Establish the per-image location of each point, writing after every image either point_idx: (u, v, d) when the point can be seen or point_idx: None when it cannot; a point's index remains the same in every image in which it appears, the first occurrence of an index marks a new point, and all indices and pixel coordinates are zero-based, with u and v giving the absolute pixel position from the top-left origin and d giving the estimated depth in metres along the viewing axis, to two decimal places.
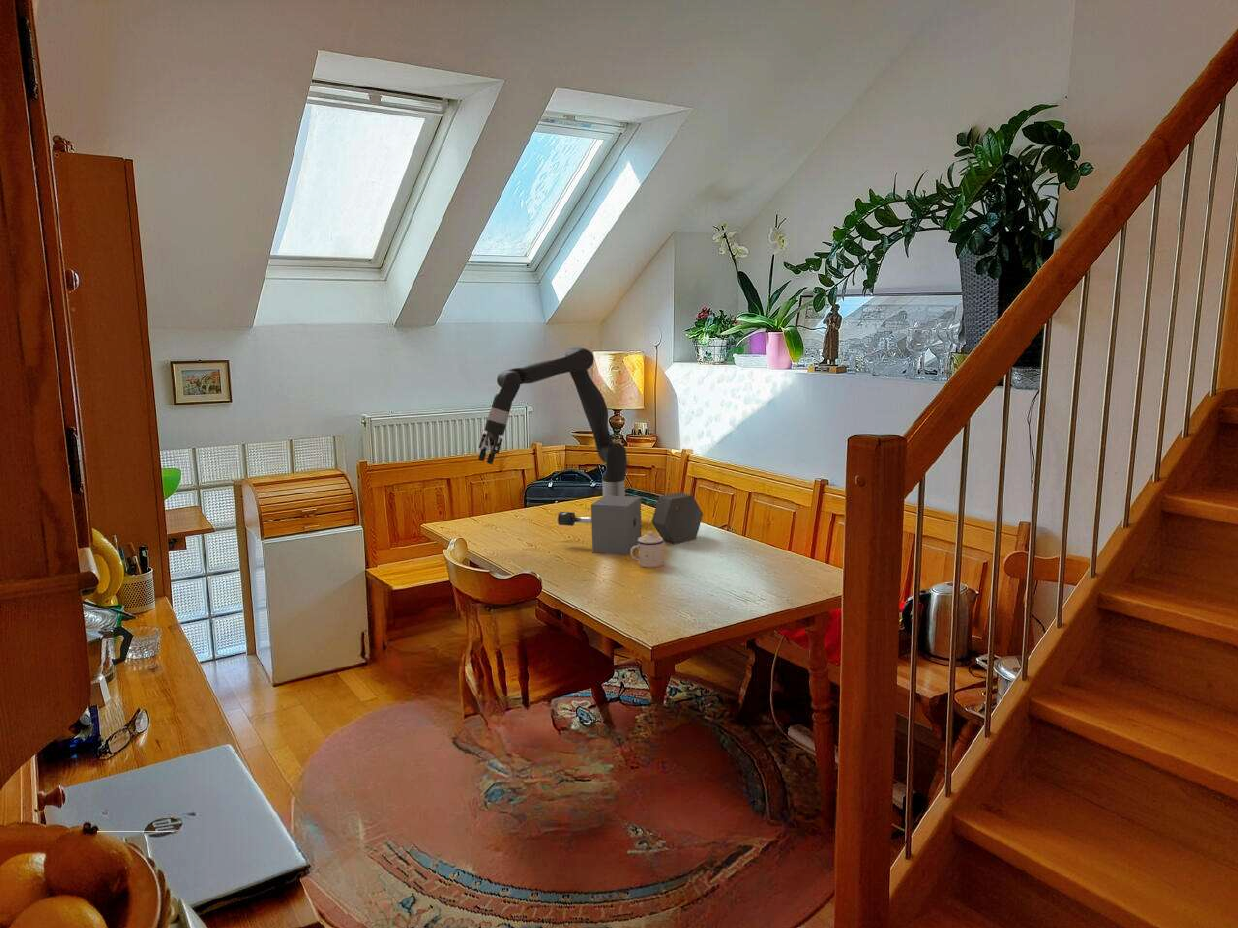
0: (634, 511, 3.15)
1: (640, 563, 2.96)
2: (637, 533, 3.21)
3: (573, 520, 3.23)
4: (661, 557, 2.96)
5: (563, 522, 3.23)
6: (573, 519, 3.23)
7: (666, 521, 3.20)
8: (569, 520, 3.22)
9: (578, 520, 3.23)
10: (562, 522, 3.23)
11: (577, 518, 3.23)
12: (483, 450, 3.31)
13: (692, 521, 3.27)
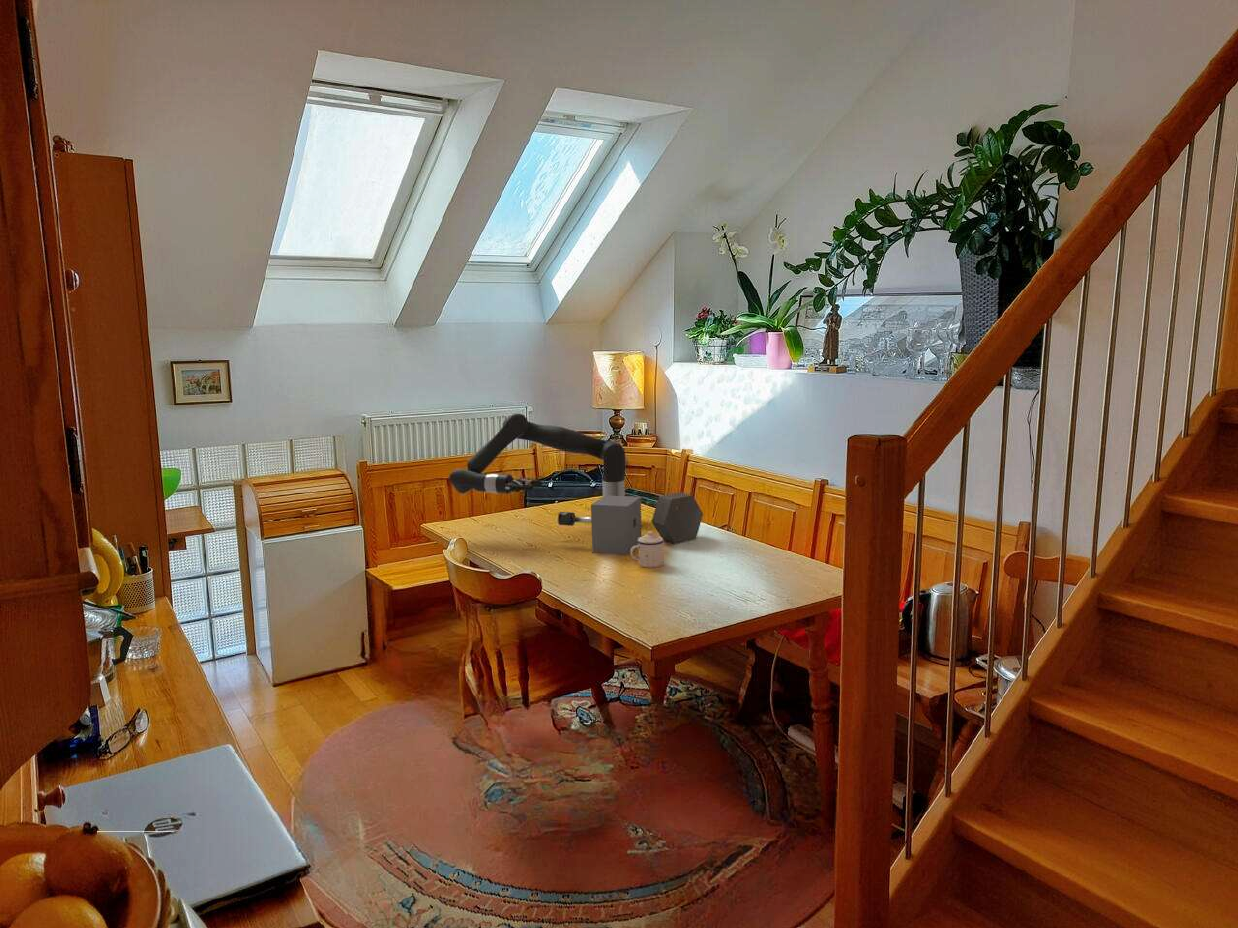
0: (634, 511, 3.15)
1: (640, 563, 2.96)
2: (637, 533, 3.21)
3: (573, 520, 3.23)
4: (661, 557, 2.96)
5: (563, 522, 3.23)
6: (573, 519, 3.23)
7: (666, 521, 3.20)
8: (569, 520, 3.22)
9: (578, 520, 3.23)
10: (562, 522, 3.23)
11: (577, 518, 3.23)
12: (532, 483, 3.32)
13: (692, 521, 3.27)
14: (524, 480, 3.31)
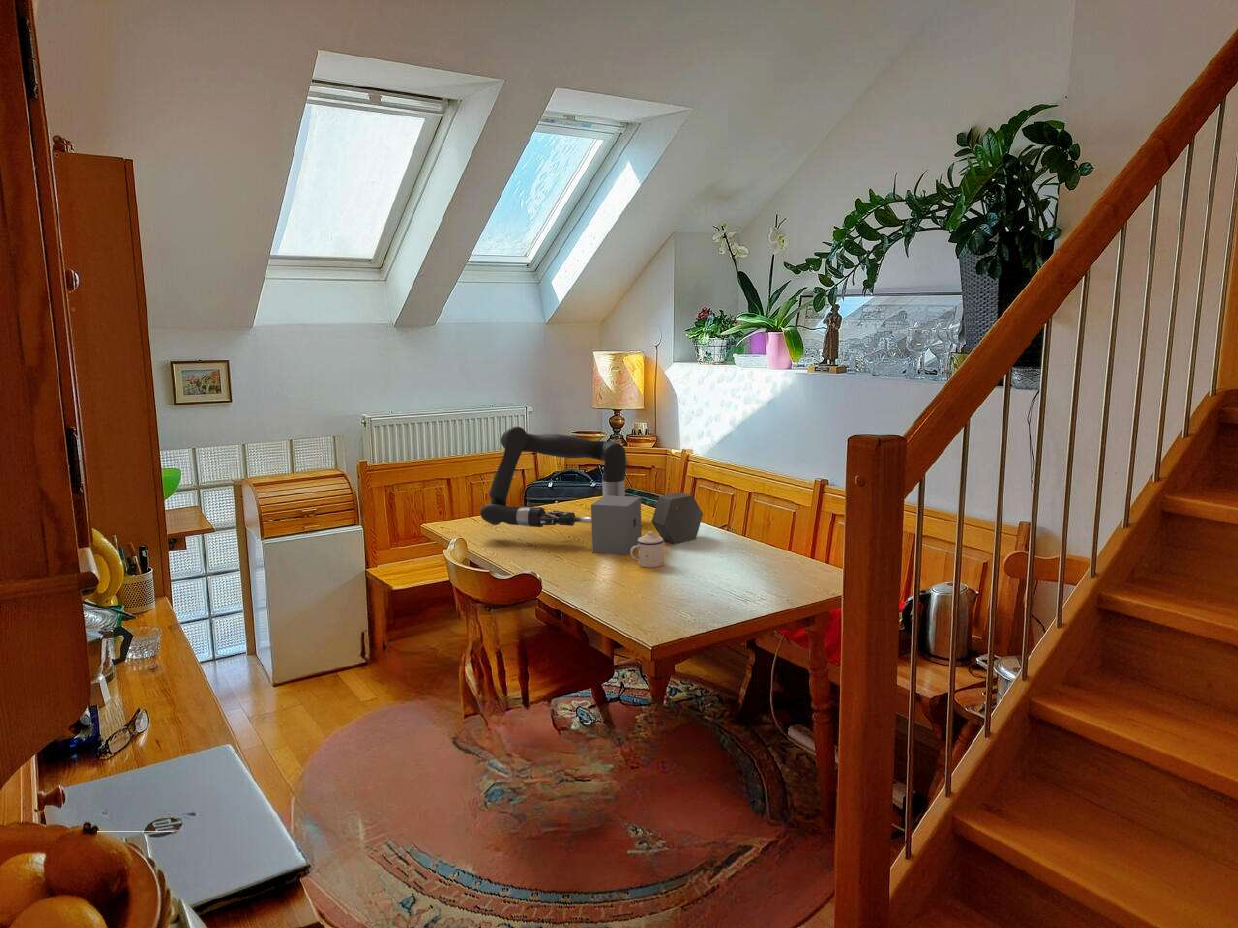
0: (634, 511, 3.15)
1: (640, 563, 2.96)
2: (637, 533, 3.21)
3: (573, 520, 3.23)
4: (661, 557, 2.96)
5: None
6: (573, 519, 3.23)
7: (666, 521, 3.20)
8: None
9: (578, 520, 3.23)
10: None
11: (577, 518, 3.23)
12: None
13: (692, 521, 3.27)
14: (556, 513, 3.28)
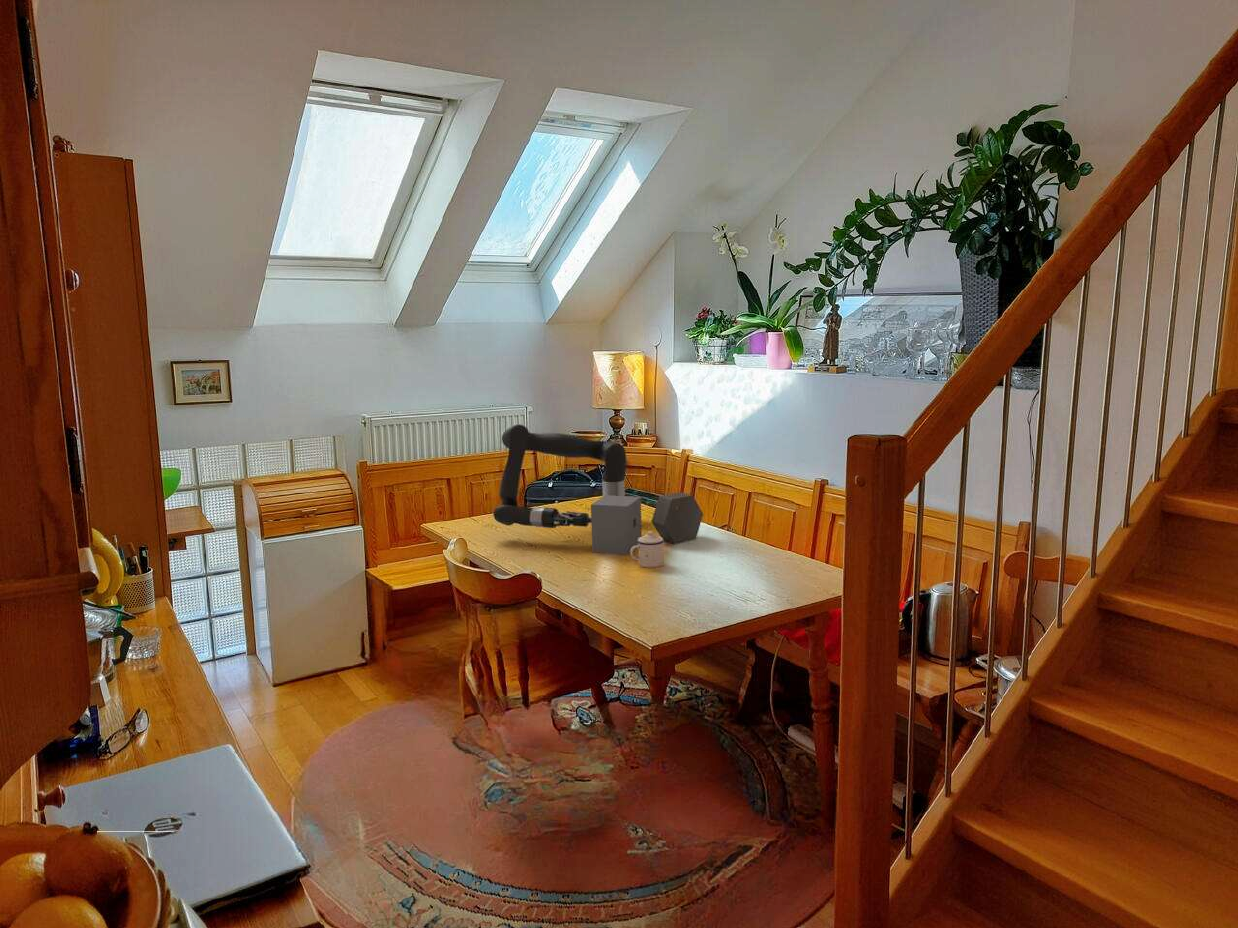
0: (634, 511, 3.15)
1: (640, 563, 2.96)
2: (637, 533, 3.21)
3: (587, 521, 3.22)
4: (661, 557, 2.96)
5: None
6: (587, 520, 3.21)
7: (666, 521, 3.20)
8: (583, 521, 3.20)
9: None
10: None
11: None
12: None
13: (692, 521, 3.27)
14: (570, 514, 3.26)
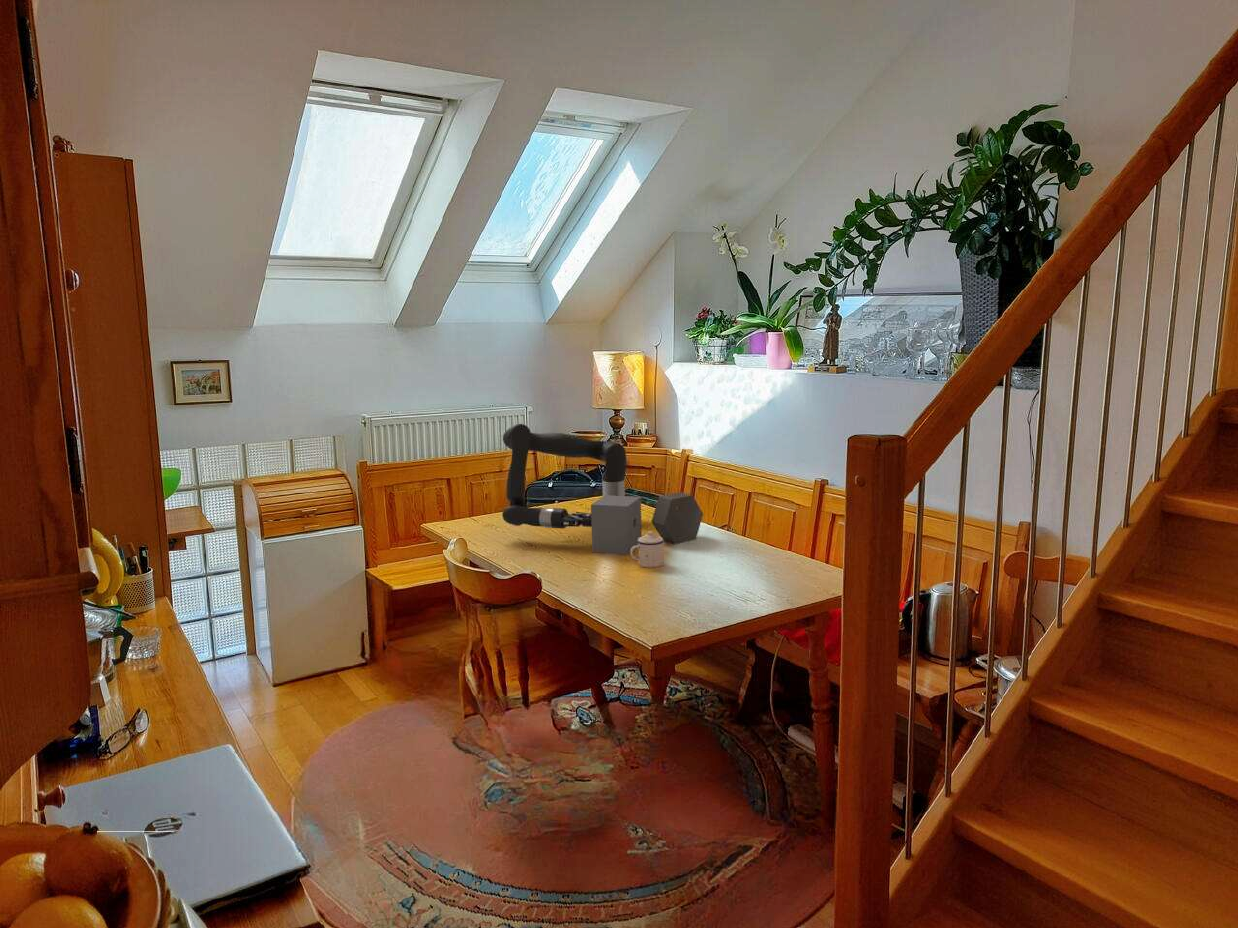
0: (634, 511, 3.15)
1: (640, 563, 2.96)
2: (637, 533, 3.21)
3: None
4: (661, 557, 2.96)
5: None
6: None
7: (666, 521, 3.20)
8: None
9: None
10: None
11: None
12: None
13: (692, 521, 3.27)
14: (579, 515, 3.25)
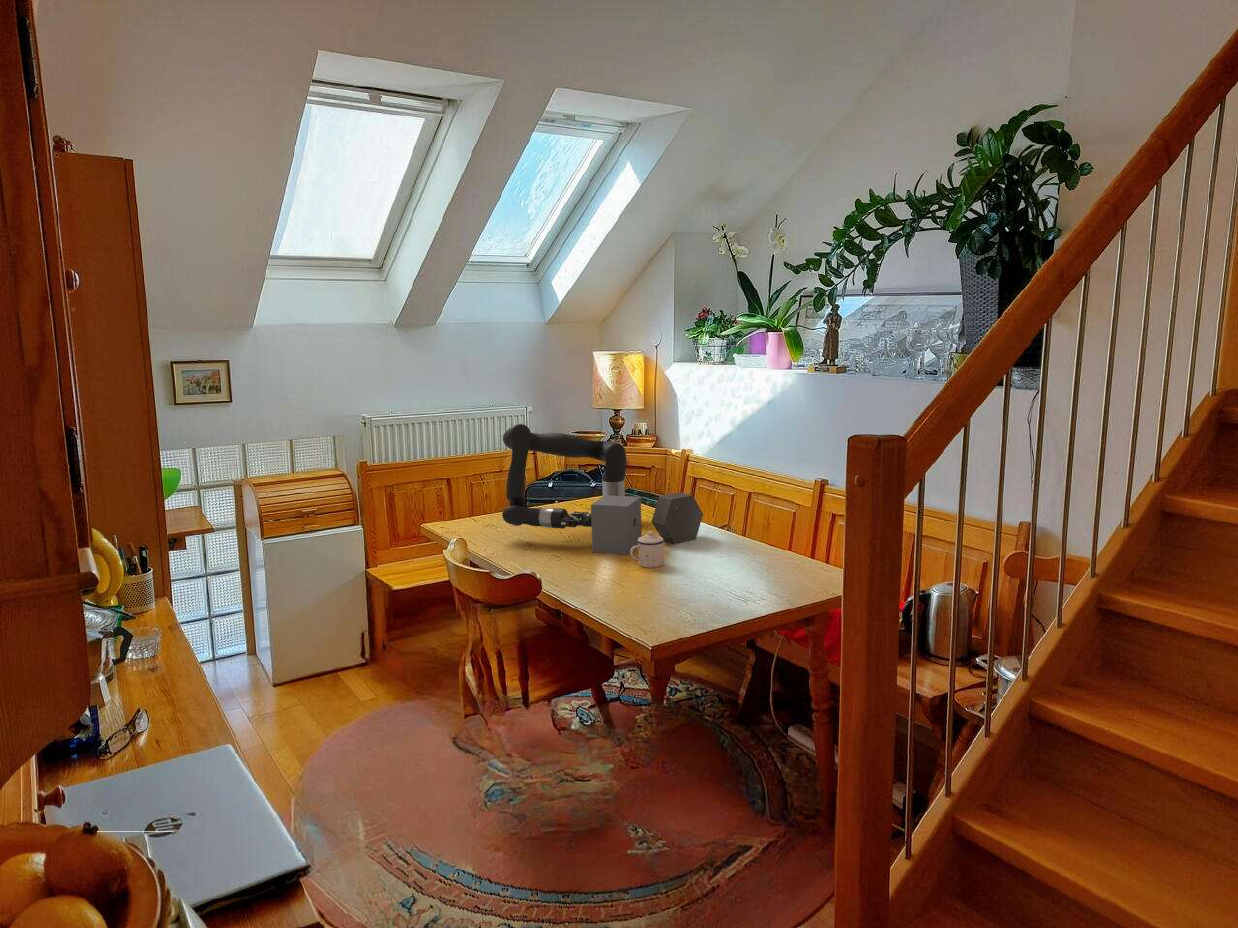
0: (634, 511, 3.15)
1: (640, 563, 2.96)
2: (637, 533, 3.21)
3: None
4: (661, 557, 2.96)
5: None
6: None
7: (666, 521, 3.20)
8: None
9: None
10: None
11: None
12: None
13: (692, 521, 3.27)
14: (579, 514, 3.26)
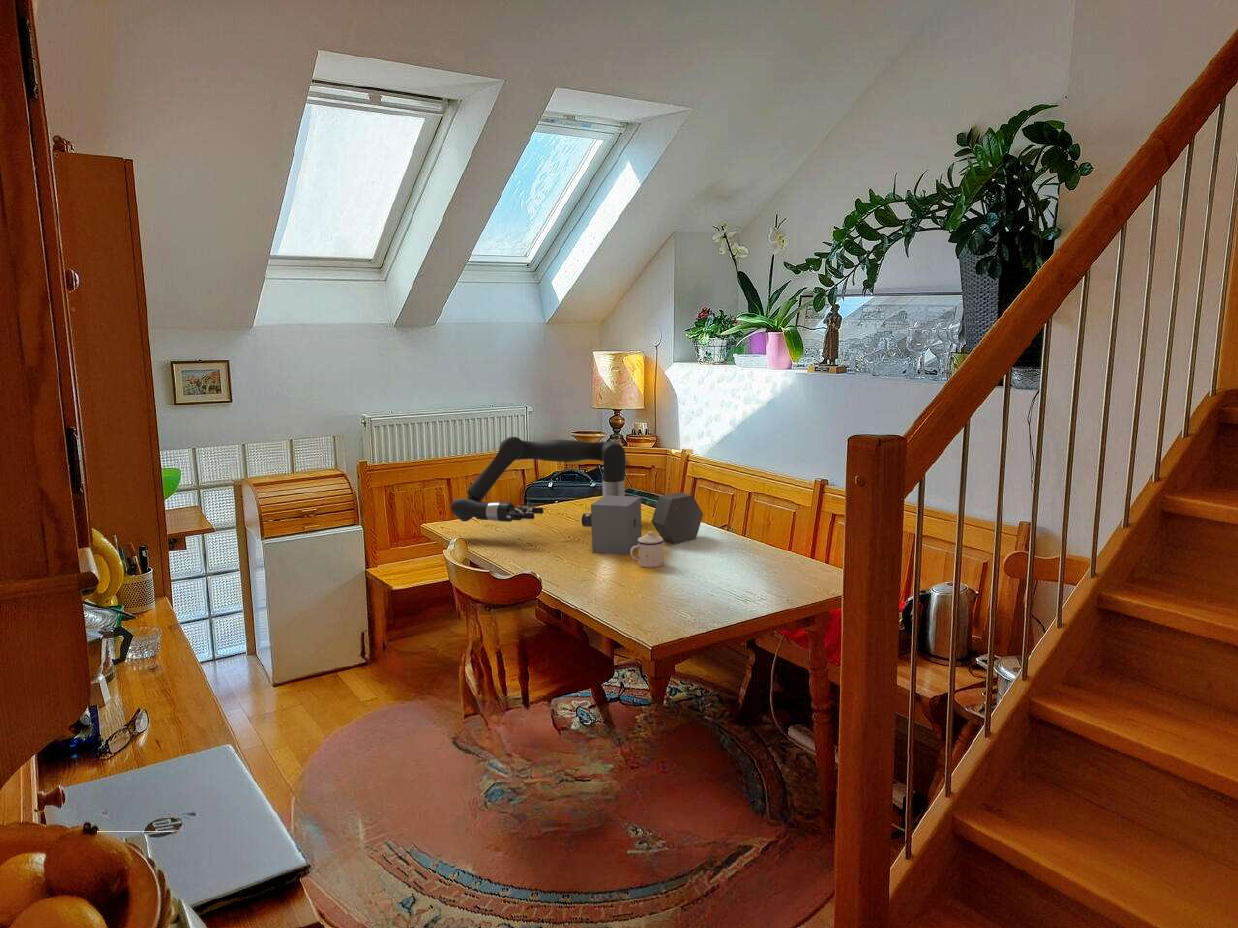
0: (634, 511, 3.15)
1: (640, 563, 2.96)
2: (637, 533, 3.21)
3: None
4: (661, 557, 2.96)
5: (587, 523, 3.20)
6: None
7: (666, 521, 3.20)
8: None
9: None
10: (586, 523, 3.20)
11: None
12: (533, 511, 3.34)
13: (692, 521, 3.27)
14: (525, 508, 3.33)
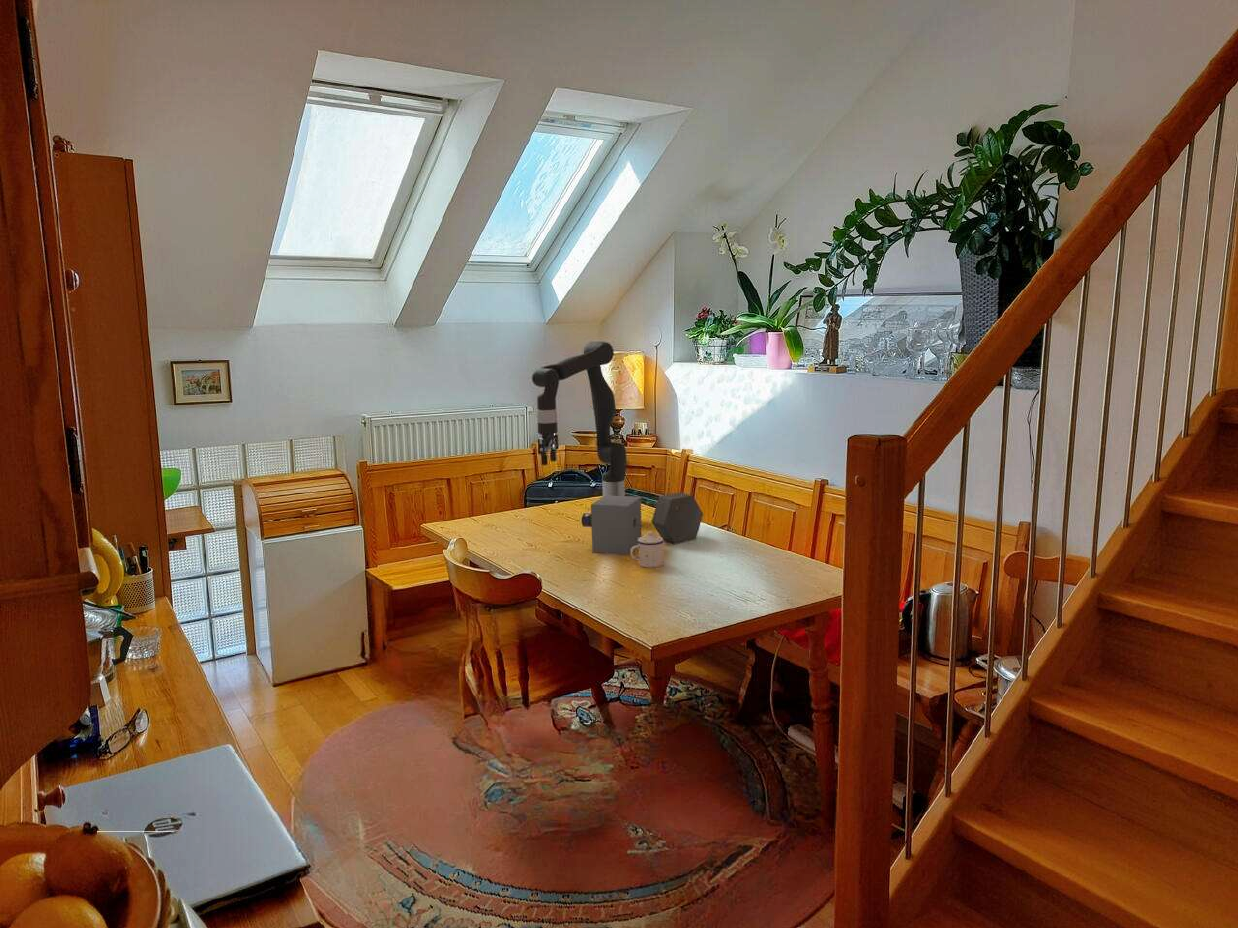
0: (634, 511, 3.15)
1: (640, 563, 2.96)
2: (637, 533, 3.21)
3: None
4: (661, 557, 2.96)
5: (587, 523, 3.20)
6: None
7: (666, 521, 3.20)
8: None
9: None
10: (586, 523, 3.20)
11: None
12: (552, 450, 3.33)
13: (692, 521, 3.27)
14: (553, 445, 3.31)
